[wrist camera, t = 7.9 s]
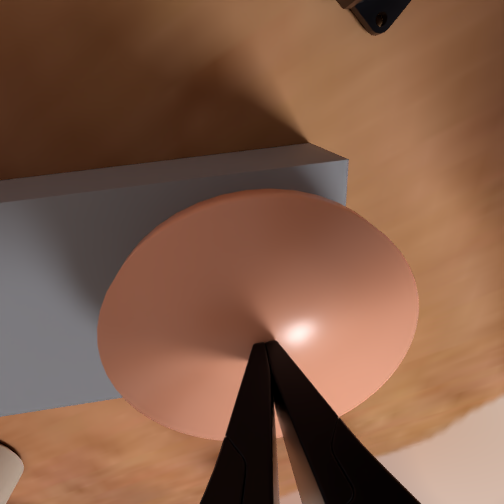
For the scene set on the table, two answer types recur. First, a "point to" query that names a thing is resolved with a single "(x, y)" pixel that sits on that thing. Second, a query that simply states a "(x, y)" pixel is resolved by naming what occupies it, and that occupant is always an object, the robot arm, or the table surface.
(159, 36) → the table surface
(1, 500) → the travel mug
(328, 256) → the terracotta plug
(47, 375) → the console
